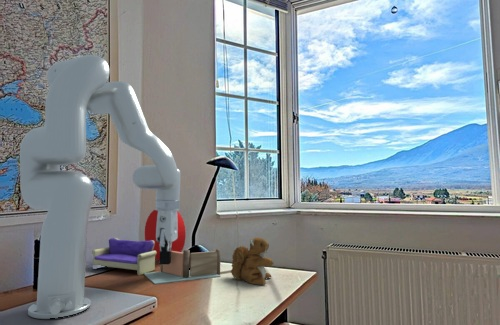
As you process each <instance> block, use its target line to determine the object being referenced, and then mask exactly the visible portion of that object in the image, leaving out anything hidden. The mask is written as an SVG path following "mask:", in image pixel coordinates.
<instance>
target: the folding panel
mask: <svg viewBox="0 0 500 325" xmlns="http://www.w3.org/2000/svg"><path fill="white" fill-rule="evenodd" d="M160 271H161V272H166V273H170V274H174V275H179V276H183V251H182V252H176V251H171V263H170V264H160Z"/></svg>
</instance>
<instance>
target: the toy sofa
mask: <svg viewBox="0 0 500 325" xmlns="http://www.w3.org/2000/svg"><path fill="white" fill-rule="evenodd" d="M154 245H155V242H154V240H150V241H145V240H139V241H137V240H129V239H128V240H127V239H119V238H117V237H111V238H109V240H108V246H109V247H108V246H107V247H102V248H97V249H92V251H91V254H92V266H93V265H101V266H107V267H108V268H116V269H125V270H132V271H137V272H136V273H137V276H141V275H144V273H150V272H152V271H153V272H154V271H155V270H156V260H155V255H156V254H157V252H156V251H155V250H154V251H153V249H154ZM107 267H106V268H107Z"/></svg>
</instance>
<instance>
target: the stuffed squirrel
mask: <svg viewBox="0 0 500 325" xmlns="http://www.w3.org/2000/svg"><path fill="white" fill-rule="evenodd" d="M269 250H270V244H269V242H268V241H267V240H265V239H264V238H262V237H260V236H259V237H254V238H250V239H249V248H248V247H246V246H243V245H242V246H238V247H236V248H235V249H234V251H233V254H232V263H231V267H232V268H231V270H230V273H231V275H232V277H233V278H235V280H236V281H245V282H246V283H249V284H251V285H256V284H257V285H256V286H266V279H265V278H269V277H271V278H272V275H271V273H268V272H267V270H266V268H267V267H272V266H274V262H275V261H273V259H272V258H270V257H266V256H265V255H264V254H266V253H268V252H269ZM265 267H266V268H265Z"/></svg>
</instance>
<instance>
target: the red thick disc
mask: <svg viewBox="0 0 500 325" xmlns="http://www.w3.org/2000/svg"><path fill="white" fill-rule="evenodd" d="M157 215H158V210H155V209H153V210H152V211H151V212H149V215H148V216H147V219H146V220H145V221H146V222H145V225H144V241H150V240H154V242H155V245H154V249H153V251H154V250H155V251H156V252H157V254H156V255H155V259H158V260H160V242H157V241H156V225H157ZM177 219H178V237H177V239H176V240H175V241H173V242H172V244H171V251H176V252H182V253H183V249H184V247H185V242H186V236H187V235H186V233H187V232H186V226H185V221H184V218H183V217H182V215H181V214H180V212H179V211H177ZM158 260H157V261H158Z"/></svg>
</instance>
